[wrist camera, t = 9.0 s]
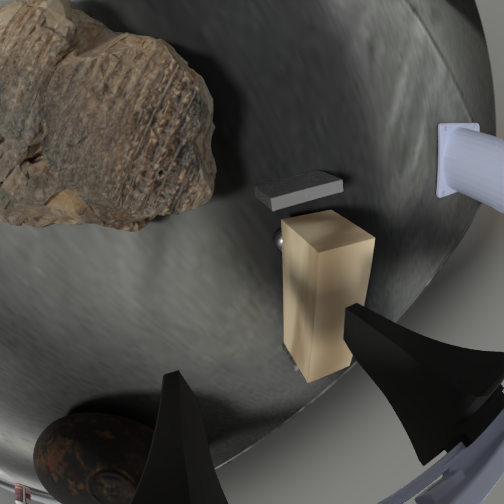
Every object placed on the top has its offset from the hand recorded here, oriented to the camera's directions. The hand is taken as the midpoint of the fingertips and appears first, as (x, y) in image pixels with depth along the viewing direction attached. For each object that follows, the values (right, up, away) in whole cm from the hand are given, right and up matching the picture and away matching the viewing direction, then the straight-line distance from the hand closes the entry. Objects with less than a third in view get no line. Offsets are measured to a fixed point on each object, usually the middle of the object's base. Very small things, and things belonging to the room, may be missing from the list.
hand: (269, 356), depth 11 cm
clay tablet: (-12, +12, +2) cm, 17 cm away
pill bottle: (-61, -57, +20) cm, 86 cm away
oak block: (+4, +2, +11) cm, 12 cm away
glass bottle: (-19, -17, +15) cm, 30 cm away
